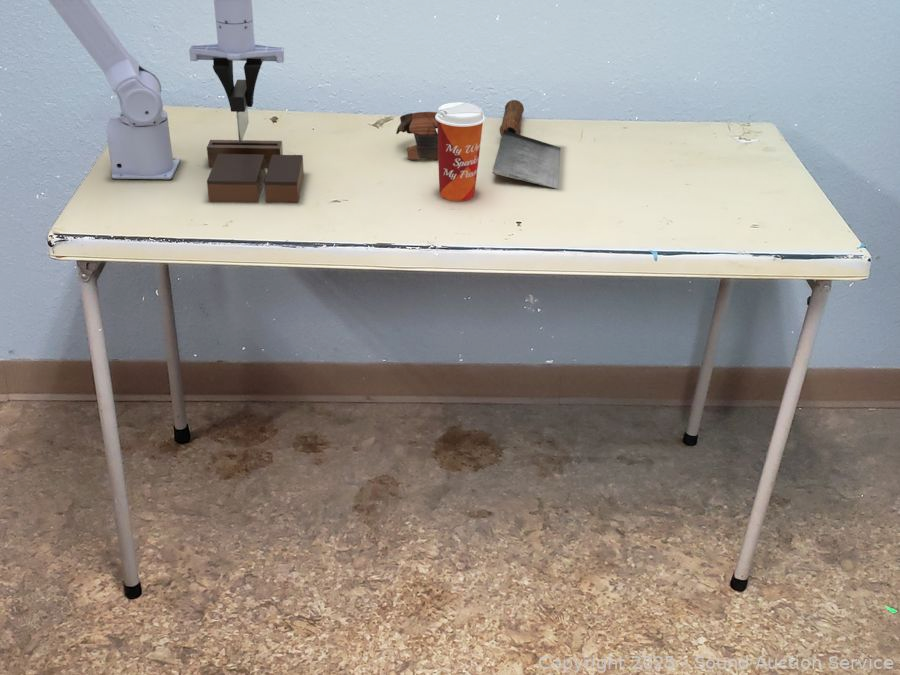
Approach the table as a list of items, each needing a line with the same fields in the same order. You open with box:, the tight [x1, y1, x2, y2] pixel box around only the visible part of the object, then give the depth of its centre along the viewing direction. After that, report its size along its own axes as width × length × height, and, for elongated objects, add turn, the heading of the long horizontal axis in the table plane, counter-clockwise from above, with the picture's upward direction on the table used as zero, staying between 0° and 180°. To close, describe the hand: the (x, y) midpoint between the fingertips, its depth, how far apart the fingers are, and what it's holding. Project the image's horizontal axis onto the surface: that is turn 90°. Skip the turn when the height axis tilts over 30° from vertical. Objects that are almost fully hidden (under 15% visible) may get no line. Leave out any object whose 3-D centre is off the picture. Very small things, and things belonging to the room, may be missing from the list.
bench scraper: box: [229, 79, 250, 144], centre depth 156 cm, size 10×2×8 cm, turn 3°
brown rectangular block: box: [263, 154, 305, 204], centre depth 152 cm, size 5×11×4 cm, turn 3°
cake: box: [206, 154, 267, 203], centre depth 151 cm, size 8×11×4 cm
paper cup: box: [435, 102, 486, 202], centre depth 149 cm, size 8×8×14 cm
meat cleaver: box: [491, 99, 562, 190], centre depth 170 cm, size 34×11×4 cm, turn 174°
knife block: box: [206, 139, 284, 169], centre depth 160 cm, size 12×4×4 cm, turn 93°
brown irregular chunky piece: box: [395, 111, 438, 161], centre depth 167 cm, size 12×10×8 cm
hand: (241, 104), depth 155 cm, fingers closed on bench scraper, 2 cm apart
